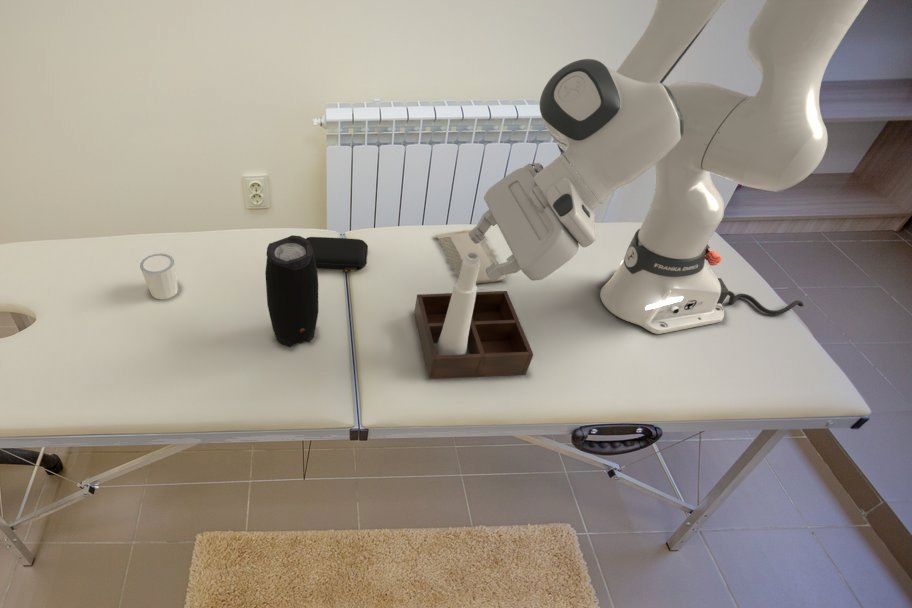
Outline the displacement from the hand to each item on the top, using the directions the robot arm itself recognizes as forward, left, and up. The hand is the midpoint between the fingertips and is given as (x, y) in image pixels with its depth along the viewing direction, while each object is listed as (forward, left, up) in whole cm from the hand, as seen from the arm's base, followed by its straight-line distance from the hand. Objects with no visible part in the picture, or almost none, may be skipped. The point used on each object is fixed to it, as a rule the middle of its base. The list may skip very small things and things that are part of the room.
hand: (479, 257), depth 87 cm
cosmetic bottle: (+1, 0, -22) cm, 22 cm away
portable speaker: (+29, -9, -23) cm, 38 cm away
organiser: (-3, -4, -23) cm, 23 cm away
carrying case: (+20, -32, -23) cm, 44 cm away
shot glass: (+56, -24, -23) cm, 65 cm away
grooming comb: (-10, -31, -23) cm, 39 cm away
